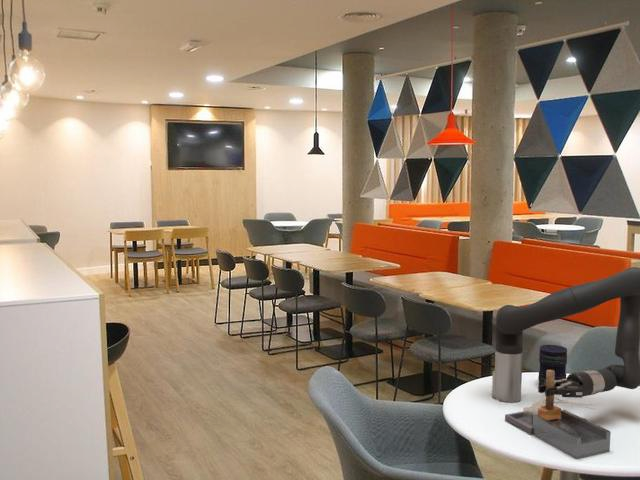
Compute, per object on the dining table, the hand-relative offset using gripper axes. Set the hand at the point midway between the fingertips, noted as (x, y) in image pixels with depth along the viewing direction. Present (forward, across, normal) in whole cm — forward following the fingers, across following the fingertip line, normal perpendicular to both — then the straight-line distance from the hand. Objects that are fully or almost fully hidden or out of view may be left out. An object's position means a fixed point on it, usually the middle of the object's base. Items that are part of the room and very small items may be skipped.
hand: (542, 391), depth 193 cm
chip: (-3, -4, +10) cm, 11 cm away
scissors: (-26, -17, +14) cm, 34 cm away
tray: (-3, -6, +13) cm, 15 cm away
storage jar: (-33, -31, +14) cm, 47 cm away
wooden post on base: (-3, 0, +9) cm, 9 cm away
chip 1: (-3, -6, +11) cm, 13 cm away
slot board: (-3, +9, +13) cm, 16 cm away
